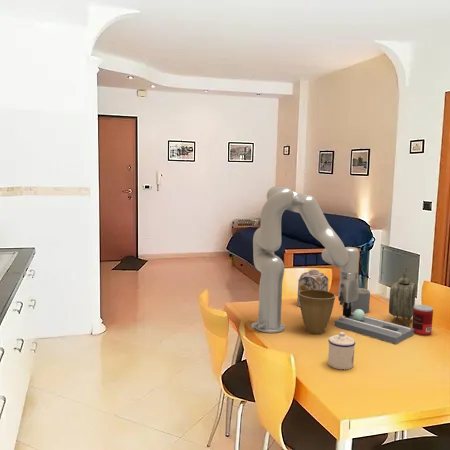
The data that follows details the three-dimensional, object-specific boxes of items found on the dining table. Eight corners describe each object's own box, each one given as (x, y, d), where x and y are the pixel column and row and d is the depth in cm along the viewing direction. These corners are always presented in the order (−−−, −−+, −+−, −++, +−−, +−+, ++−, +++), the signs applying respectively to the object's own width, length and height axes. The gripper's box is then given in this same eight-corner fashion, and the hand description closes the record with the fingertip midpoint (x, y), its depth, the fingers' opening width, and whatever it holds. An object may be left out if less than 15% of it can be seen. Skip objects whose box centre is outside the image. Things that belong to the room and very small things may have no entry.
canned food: (431, 331, 202) (433, 306, 201) (431, 337, 195) (433, 311, 193) (412, 328, 205) (414, 303, 204) (411, 334, 198) (412, 308, 197)
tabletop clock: (409, 328, 204) (413, 271, 201) (387, 325, 208) (390, 269, 205) (413, 319, 217) (417, 265, 214) (392, 316, 221) (396, 263, 218)
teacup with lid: (358, 370, 162) (359, 337, 161) (332, 370, 161) (333, 337, 160) (345, 355, 174) (347, 325, 173) (321, 356, 173) (322, 325, 172)
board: (334, 326, 206) (334, 318, 206) (353, 318, 217) (354, 310, 217) (395, 344, 186) (396, 335, 186) (413, 334, 197) (414, 326, 197)
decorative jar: (318, 310, 228) (320, 273, 226) (296, 306, 234) (297, 270, 232) (328, 304, 238) (329, 269, 236) (306, 300, 244) (307, 266, 242)
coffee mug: (371, 314, 224) (372, 293, 222) (350, 313, 224) (351, 293, 222) (363, 305, 237) (364, 286, 236) (343, 305, 237) (344, 285, 236)
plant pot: (333, 338, 191) (335, 299, 189) (296, 335, 194) (297, 297, 192) (333, 326, 206) (334, 290, 204) (298, 323, 209) (299, 288, 207)
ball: (360, 323, 203) (361, 311, 202) (350, 320, 206) (351, 309, 206) (366, 320, 206) (367, 309, 206) (356, 317, 210) (357, 306, 209)
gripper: (347, 279, 200) (345, 321, 203) (365, 274, 211) (363, 314, 213) (331, 276, 206) (330, 317, 208) (350, 271, 216) (348, 310, 218)
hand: (346, 316), depth 210 cm, fingers closed
